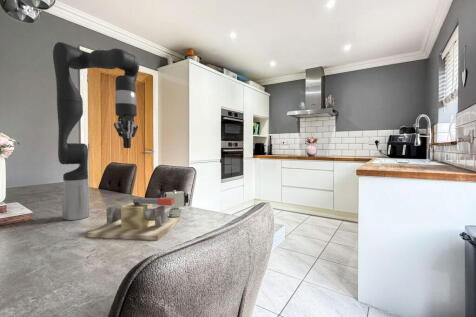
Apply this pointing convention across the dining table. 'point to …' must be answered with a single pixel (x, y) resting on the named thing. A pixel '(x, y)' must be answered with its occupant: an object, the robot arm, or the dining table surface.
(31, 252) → the dining table surface
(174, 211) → the pneumatic valve
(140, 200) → the valve lever
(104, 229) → the valve base
